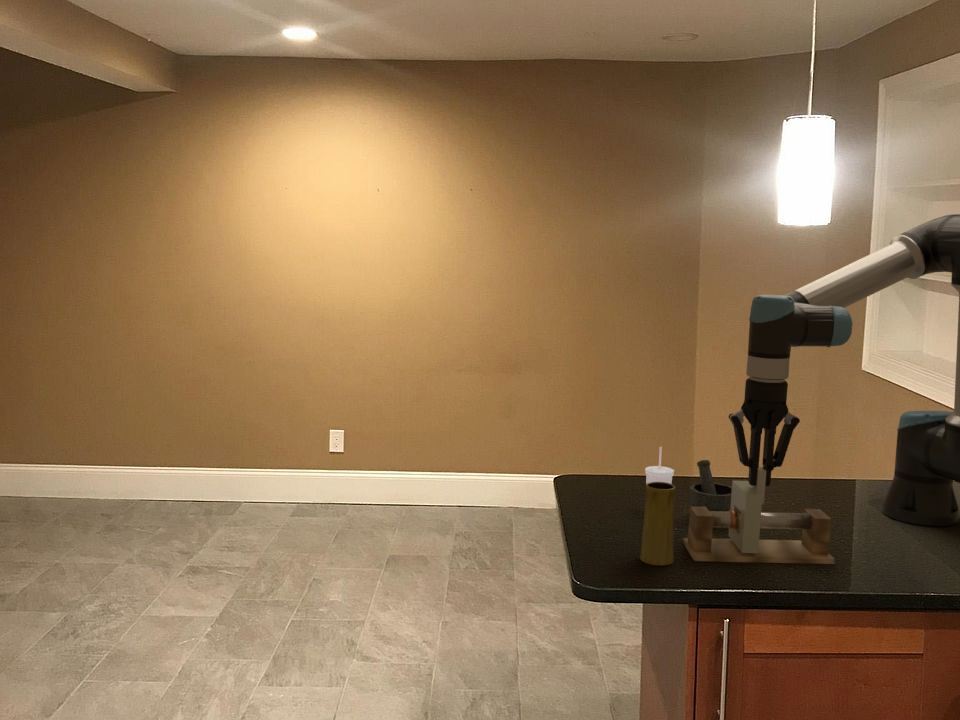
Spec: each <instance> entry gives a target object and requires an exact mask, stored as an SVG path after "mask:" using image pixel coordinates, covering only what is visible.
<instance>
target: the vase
mask: <svg viewBox="0 0 960 720" xmlns="http://www.w3.org/2000/svg"><path fill="white" fill-rule="evenodd" d="M645 486H646V487H645V488H646V489H645V503H644V504H645V505H644V517H643V527H642V538H641V546H640V547H641V549H640V555H639V559H640V561H641V562H643V563H644V564H648V565H651V566H657V567H659V566H660V567H662V566H663V567H664V566H670V565H672V564H673V563H674V560H675V559H674V517H675V503H676V486H675V484H673V483H671V484H670V483H666V482H650V483H647V485H646V484H645Z"/></svg>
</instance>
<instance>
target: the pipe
mask: <svg viewBox="0 0 960 720" xmlns="http://www.w3.org/2000/svg"><path fill="white" fill-rule="evenodd" d="M709 512H710V513H711V514H712V515H713V528H724V529H725V528H727V529H728V530H729V529H737V528H740V518H741V512H737V510H728V511H709ZM811 526H812V518H811V515H810V514H809V513H804V512H767V511H765V512H763V511H761V522H760V529H780V530H781V529H782V530H785V529H786V530H803V529H811Z"/></svg>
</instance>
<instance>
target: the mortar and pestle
mask: <svg viewBox="0 0 960 720" xmlns="http://www.w3.org/2000/svg"><path fill="white" fill-rule="evenodd" d="M696 466H697V468H698V472H699V479H700V480H699V481H700V482H698V483H693V484H691V486H690V487H689V500H690V504H691V506H699V507H706V508H707V509H708V510H709V511H728V510H730V507H731V492H732V485H728V484H727V485H726V484H723V483H717V482H714V478H713V473H712V470H711V461H710V460H709V459H704V460H703V459H701V460H699V461H697V462H696Z"/></svg>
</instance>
